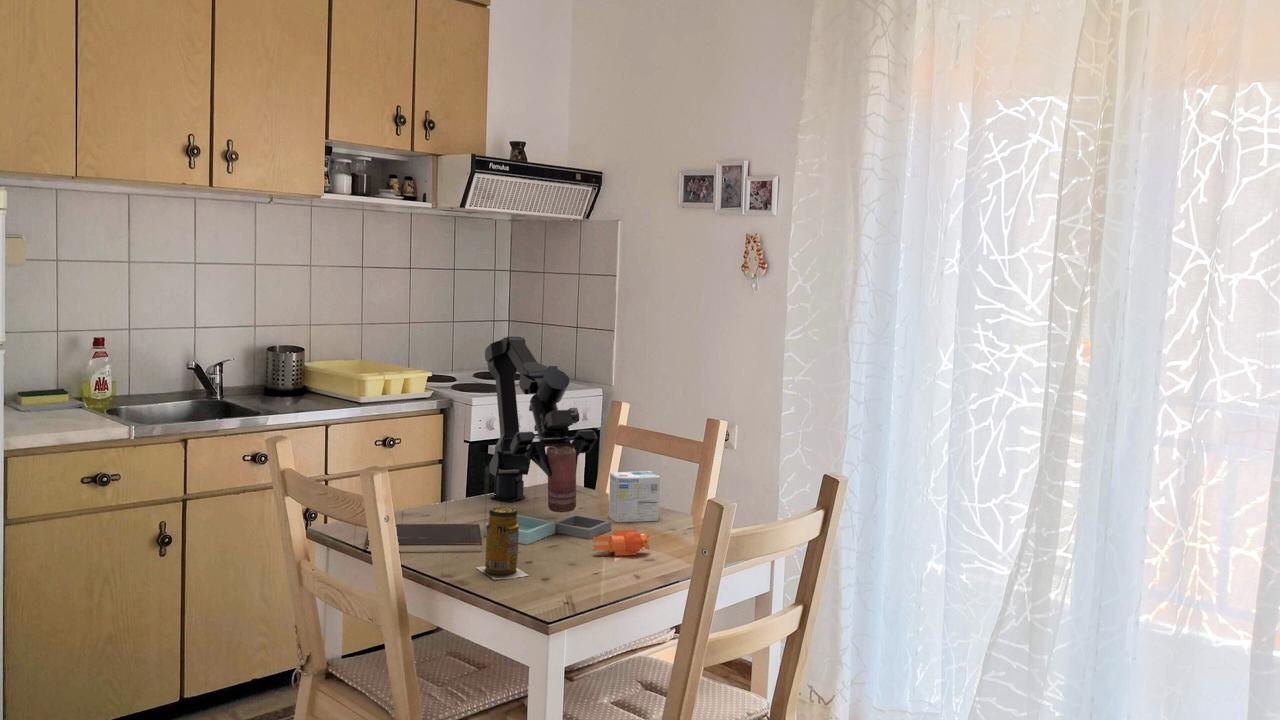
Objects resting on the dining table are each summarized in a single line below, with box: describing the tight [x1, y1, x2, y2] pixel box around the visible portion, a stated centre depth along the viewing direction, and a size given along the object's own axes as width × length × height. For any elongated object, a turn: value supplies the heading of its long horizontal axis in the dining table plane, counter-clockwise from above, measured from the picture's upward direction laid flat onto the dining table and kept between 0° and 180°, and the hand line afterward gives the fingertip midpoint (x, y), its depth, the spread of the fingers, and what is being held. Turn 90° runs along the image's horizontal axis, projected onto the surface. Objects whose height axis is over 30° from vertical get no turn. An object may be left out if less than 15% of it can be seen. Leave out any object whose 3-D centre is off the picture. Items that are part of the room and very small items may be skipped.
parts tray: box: [483, 514, 556, 546], centre depth 221 cm, size 11×11×3 cm
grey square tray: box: [555, 513, 612, 540], centre depth 227 cm, size 10×10×2 cm
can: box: [545, 444, 577, 513], centre depth 223 cm, size 6×6×14 cm
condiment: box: [475, 506, 530, 581], centre depth 194 cm, size 7×8×12 cm
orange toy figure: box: [592, 529, 651, 557], centre depth 211 cm, size 5×8×12 cm
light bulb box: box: [608, 470, 661, 523], centre depth 240 cm, size 11×7×11 cm, turn 108°
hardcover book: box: [364, 523, 483, 553], centre depth 213 cm, size 16×23×2 cm
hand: (562, 475), depth 222 cm, fingers closed on can, 5 cm apart
